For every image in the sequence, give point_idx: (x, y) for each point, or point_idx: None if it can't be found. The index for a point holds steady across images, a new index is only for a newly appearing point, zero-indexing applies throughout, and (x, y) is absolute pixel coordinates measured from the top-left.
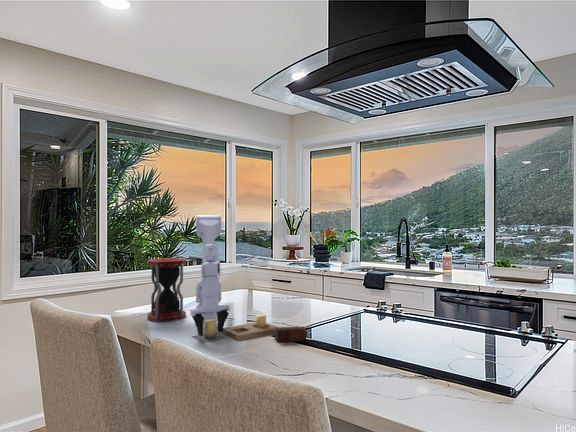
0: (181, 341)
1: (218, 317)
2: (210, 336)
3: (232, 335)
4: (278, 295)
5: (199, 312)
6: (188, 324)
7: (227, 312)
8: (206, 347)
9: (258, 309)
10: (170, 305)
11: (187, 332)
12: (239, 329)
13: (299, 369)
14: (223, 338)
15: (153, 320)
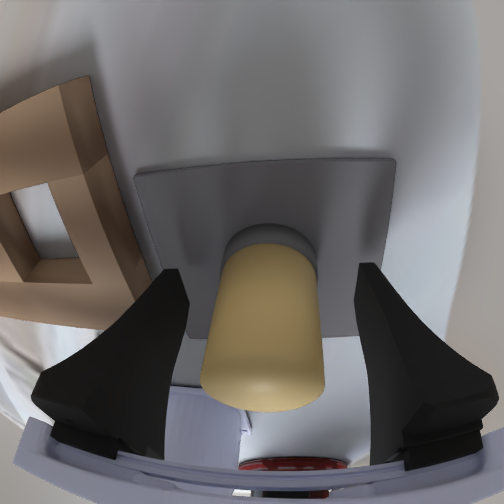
0: (452, 288)
1: (157, 405)
2: (288, 240)
3: (96, 173)
4: (18, 424)
5: (419, 482)
6: (267, 435)
7: (42, 405)
8: (413, 51)
9: (34, 408)
10: None
11: (327, 387)
12: (45, 275)
13: None
14: (178, 188)
15: (343, 463)
